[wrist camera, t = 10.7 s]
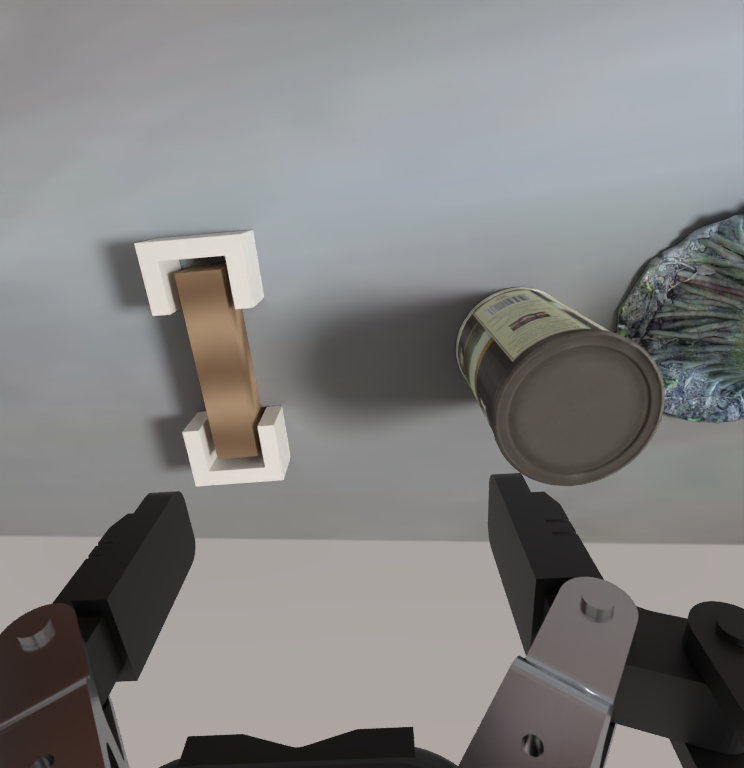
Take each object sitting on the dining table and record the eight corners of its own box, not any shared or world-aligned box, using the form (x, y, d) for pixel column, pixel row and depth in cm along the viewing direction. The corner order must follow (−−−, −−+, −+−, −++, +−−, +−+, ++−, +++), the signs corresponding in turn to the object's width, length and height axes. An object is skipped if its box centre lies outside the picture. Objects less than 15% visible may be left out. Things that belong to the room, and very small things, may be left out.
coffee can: (512, 420, 45) (570, 514, 32) (431, 351, 42) (458, 423, 29) (599, 339, 42) (702, 406, 29) (517, 260, 40) (590, 294, 26)
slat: (192, 265, 40) (174, 273, 36) (234, 262, 40) (220, 269, 36) (230, 437, 46) (217, 459, 42) (266, 434, 46) (257, 455, 42)
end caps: (156, 238, 39) (134, 243, 35) (252, 229, 39) (240, 234, 35) (210, 462, 47) (196, 486, 43) (290, 456, 46) (283, 480, 43)
